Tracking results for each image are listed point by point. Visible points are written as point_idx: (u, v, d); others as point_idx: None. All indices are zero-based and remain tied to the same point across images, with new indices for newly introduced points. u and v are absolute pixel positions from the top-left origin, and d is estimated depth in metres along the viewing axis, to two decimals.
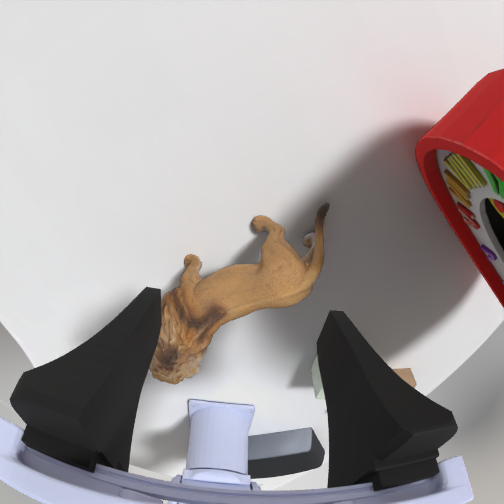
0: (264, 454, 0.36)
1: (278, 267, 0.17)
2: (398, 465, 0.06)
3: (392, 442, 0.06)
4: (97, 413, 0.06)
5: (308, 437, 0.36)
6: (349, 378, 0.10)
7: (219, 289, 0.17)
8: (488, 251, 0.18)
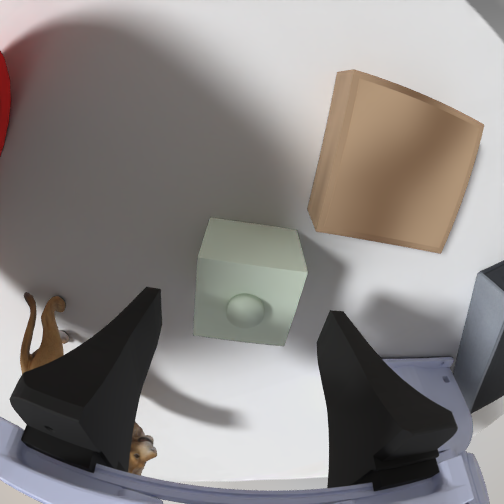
0: (483, 361, 0.18)
1: None
2: (398, 466, 0.06)
3: (391, 442, 0.06)
4: (97, 413, 0.06)
5: (490, 289, 0.16)
6: (349, 378, 0.10)
7: None
8: None
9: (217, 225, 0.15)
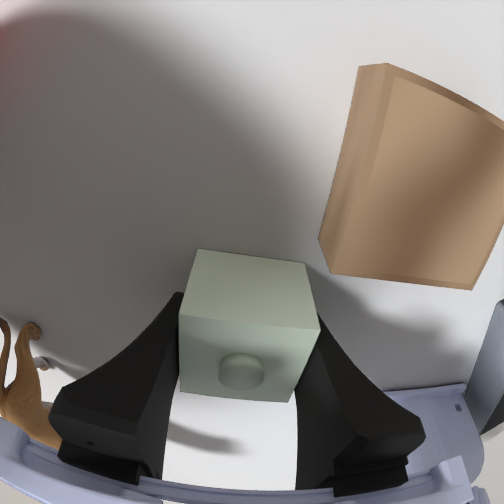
0: (496, 392, 0.15)
1: None
2: (361, 472, 0.06)
3: (349, 447, 0.06)
4: (146, 425, 0.06)
5: None
6: (315, 377, 0.10)
7: None
8: None
9: (206, 262, 0.12)
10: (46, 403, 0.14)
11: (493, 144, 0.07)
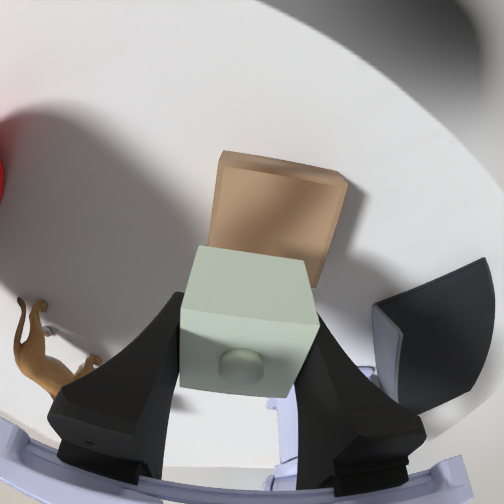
0: (391, 378, 0.24)
1: None
2: (361, 472, 0.06)
3: (349, 447, 0.06)
4: (145, 425, 0.06)
5: (382, 319, 0.22)
6: (315, 377, 0.10)
7: None
8: None
9: (207, 258, 0.12)
10: (48, 356, 0.23)
11: (305, 193, 0.16)
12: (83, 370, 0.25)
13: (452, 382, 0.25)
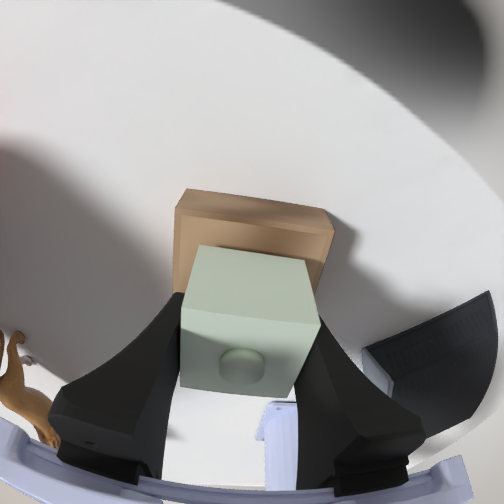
0: None
1: None
2: (361, 472, 0.06)
3: (349, 447, 0.06)
4: (145, 425, 0.06)
5: (372, 365, 0.20)
6: (315, 377, 0.10)
7: None
8: None
9: (207, 257, 0.12)
10: (28, 388, 0.20)
11: (282, 243, 0.14)
12: None
13: (451, 414, 0.22)
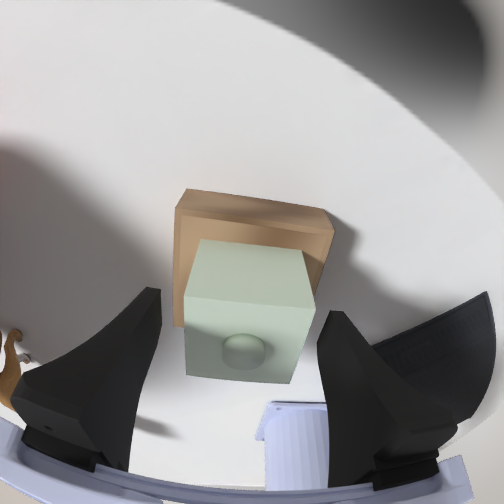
0: None
1: None
2: (398, 465, 0.06)
3: (391, 442, 0.06)
4: (97, 413, 0.06)
5: None
6: (349, 378, 0.10)
7: None
8: None
9: (208, 250, 0.13)
10: None
11: (282, 244, 0.14)
12: None
13: None
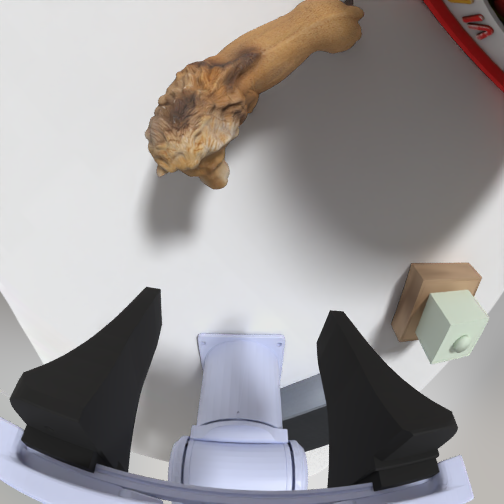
0: (289, 412, 0.29)
1: None
2: (398, 466, 0.06)
3: (391, 442, 0.06)
4: (97, 413, 0.06)
5: None
6: (349, 378, 0.10)
7: (248, 34, 0.11)
8: None
9: None
10: None
11: None
12: None
13: None
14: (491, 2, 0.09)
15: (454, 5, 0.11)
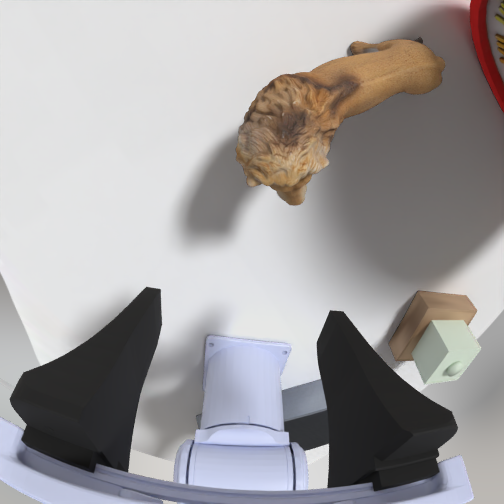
0: None
1: (410, 43, 0.10)
2: (398, 465, 0.06)
3: (392, 442, 0.06)
4: (97, 413, 0.06)
5: None
6: (349, 378, 0.10)
7: (347, 61, 0.11)
8: None
9: None
10: None
11: None
12: None
13: None
14: None
15: (503, 66, 0.13)
